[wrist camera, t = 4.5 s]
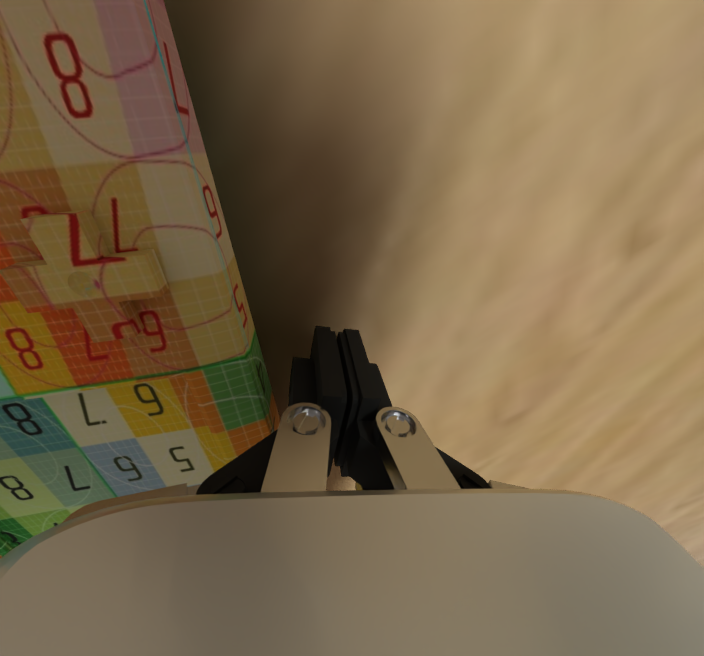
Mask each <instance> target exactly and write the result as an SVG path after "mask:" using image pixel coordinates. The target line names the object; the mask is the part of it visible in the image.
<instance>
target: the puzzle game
mask: <svg viewBox="0 0 704 656" xmlns="http://www.w3.org/2000/svg"><path fill="white" fill-rule="evenodd" d="M279 424H280V417H279V413H278V410H277V406H276V403H275V399H274V395H273V392H272V388H271V385H270V381H269V378H268V374H267V370H266V367H265V363H264V360H263V356H262V352H261V349H260V345H259V342H258V338H257V334H256V331H255V327H254V324H253V320H252V316H251V313H250V309H249V306H248V302H247V298H246V295H245V291H244V288H243V284H242V281H241V277H240V273H239V270H238V266H237V263H236V259H235V255H234V252H233V248H232V245H231V241H230V237H229V234H228V230H227V227H226V223H225V219H224V216H223V212H222V209H221V205H220V201H219V198H218V194H217V191H216V187H215V183H214V180H213V176H212V173H211V169H210V166H209V162H208V158H207V155H206V151H205V148H204V144H203V140H202V137H201V133H200V130H199V126H198V122H197V119H196V115H195V112H194V108H193V104H192V101H191V97H190V94H189V90H188V86H187V83H186V79H185V76H184V72H183V69H182V65H181V61H180V58H179V54H178V51H177V47H176V43H175V40H174V36H173V33H172V29H171V25H170V22H169V18H168V15H167V11H166V7H165V4H164V0H0V558H2V557H3V556H4V555H6V554H7V553H8V552H9V551H11V550H12V549H14V548H15V547H17V546H18V545H20V544H22V543H23V542H25V541H27V540H28V539H30V538H32V537H33V536H35V535H37V534H40V533H42V532H44V531H46V530H48V529H50V528H52V527H54V526H57V525H59V524H61V523H62V522H63V521H64V520H65V519H66V518H67V517H68V516H69V515H70V514H71V513H73V512H75V511H76V510H78V509H80V508H81V507H83V506H85V505H88V504H91V503H94V502H97V501H101V500H105V499H110V498H115V497H120V496H125V495H130V494H135V493H140V492H145V491H150V490H154V489H159V488H164V487H169V486H174V485H179V484H184V483H187V487H191V486H195V485H200V484H202V482H203V481H204V480H205V479H207V478H208V477H209V476H210V475H211V474H213V473H214V472H216V471H217V470H219V469H220V468H222V467H223V466H224V465H226V464H227V463H229V462H230V461H232V460H233V459H235V458H236V457H238V456H239V455H241V454H242V453H243V452H245V451H246V450H248V449H249V448H251V447H252V446H254V445H255V444H257V443H258V442H260V441H261V440H262V439H264V438H265V437H267V436H268V435H270V434H271V433H273V432H274V431H276V430H277V429H278V427H279Z"/></svg>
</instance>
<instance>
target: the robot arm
mask: <svg viewBox="0 0 704 656" xmlns="http://www.w3.org/2000/svg"><path fill="white" fill-rule="evenodd" d="M333 458H334V462H335V466H340V469H341V477H347V476H350V477H351V478H352V479H353V480H355V481H356V484H355V489H356V490H352V491H326V483H327V477H328V476H329V474H330V470H331V466H332V462H333ZM0 656H704V567H703V566H702V565H701V564H700V563H699V562H698V561H697V560H696V559H695V558H694V557H693V556H692V555H691V554H690V553H689V552H688V551H687V550H686V549H685V548H684V547H683V546H682V545H681V544H680V543H679V542H677V541H676V540H675V539H674V538H673V537H672V536H671V535H670V534H669V533H668V532H667V531H665V530H664V529H663V528H662V527H661V526H660V525H658V524H657V523H656V522H655V521H653V520H652V519H651V518H649V517H648V516H646V515H644V514H643V513H641V512H639V511H637V510H635V509H633V508H631V507H628V506H626V505H624V504H621V503H618V502H615V501H612V500H610V499H607V498H604V497H600V496H596V495H592V494H587V493H582V492H575V491H567V490H551V489H529V488H524V487H520V486H515V485H510V484H506V483H501V482H497V481H492V480H490V481H489V483H487V482H486V481H485V480H484V479H483V478H482V477H480V476H479V475H478V474H476V473H475V472H473V471H472V470H470V469H469V468H467V467H466V466H464V465H463V464H461V463H459V462H458V461H456V460H455V459H453V458H452V457H450V456H449V455H447V454H446V453H444V452H442V451H441V450H439V449H438V448H436V447H435V446H434V445H433V443H432V441H431V440H430V438H429V437H428V435H427V433H426V432H425V430H424V429H423V427H422V425H421V424H420V422H419V421H418V419H417V418H416V417H415V416H414V415H413V414H411V413H410V412H408V411H406V410H404V409H402V408H398V407H392V404H391V401H390V399H389V396H388V393H387V390H386V388H385V385H384V382H383V379H382V377H381V374H380V371H379V368H378V366H377V364H373V363H369V361H368V358H367V355H366V352H365V349H364V346H363V343H362V339H361V336H360V333H359V331H358V330H351V329H344V330H343V332H338V335H337V339H336V334H335V331H331V330H330V327H321V326H315V331H314V337H313V343H312V349H311V355H310V359H308V358H296V357H293V361H292V369H291V377H290V387H289V404H288V408H287V409H286V410H285V411H284V413H283V415H282V417H281V420H280V424H279V427H278V429H277V430H276V431H274V432H273V433H271V434H270V435H268V436H267V437H265V438H264V439H262V440H261V441H260V442H258V443H257V444H255V445H254V446H252V447H251V448H249V449H248V450H246V451H245V452H243V453H242V454H241V455H239V456H238V457H236V458H235V459H233V460H232V461H230V462H229V463H227V464H226V465H224V466H223V467H222V468H220V469H219V470H217V471H216V472H214V473H213V474H211V475H210V476H209V477H208V478H207V479H205V480H204V481H203V482H202V484H200V485H195V486H191V487H187V483H184V484H179V485H174V486H169V487H164V488H159V489H154V490H150V491H145V492H140V493H135V494H130V495H125V496H120V497H115V498H110V499H105V500H101V501H97V502H94V503H91V504H88V505H85V506H83V507H81V508H80V509H78V510H76V511H75V512H73V513H71V514H70V515H69V516H68V517H67V518H66V519H65V520H64V521H63V522H62V523H61V524H59V525H57V526H54V527H52V528H50V529H48V530H46V531H44V532H42V533H40V534H37V535H35V536H33V537H32V538H30V539H28V540H27V541H25V542H23V543H22V544H20V545H18V546H17V547H15V548H14V549H12V550H11V551H9V552H8V553H7V554H6V555H4V556H3V557H2V558H0Z"/></svg>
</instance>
